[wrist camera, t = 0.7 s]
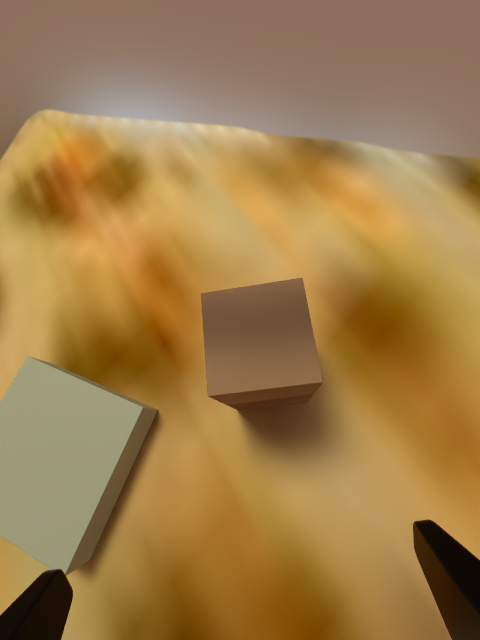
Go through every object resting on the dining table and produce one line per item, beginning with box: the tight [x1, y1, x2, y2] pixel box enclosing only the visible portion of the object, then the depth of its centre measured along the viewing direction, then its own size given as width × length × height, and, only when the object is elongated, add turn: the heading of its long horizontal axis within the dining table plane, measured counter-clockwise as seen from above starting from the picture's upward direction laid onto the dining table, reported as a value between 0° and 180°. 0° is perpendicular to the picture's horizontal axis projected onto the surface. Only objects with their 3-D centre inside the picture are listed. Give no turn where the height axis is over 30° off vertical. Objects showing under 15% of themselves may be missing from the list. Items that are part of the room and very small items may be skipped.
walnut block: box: [201, 278, 323, 410], centre depth 19 cm, size 5×5×9 cm
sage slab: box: [0, 356, 158, 576], centre depth 22 cm, size 10×10×3 cm
